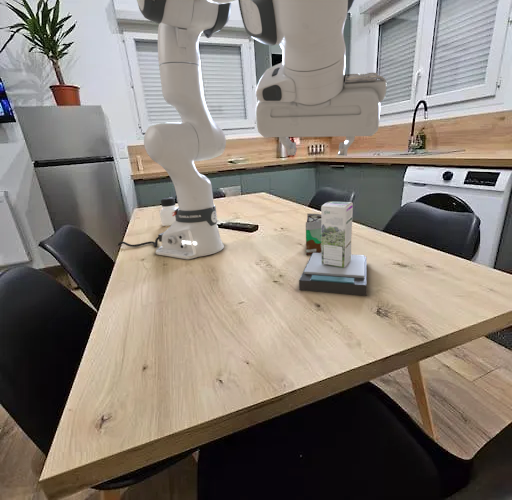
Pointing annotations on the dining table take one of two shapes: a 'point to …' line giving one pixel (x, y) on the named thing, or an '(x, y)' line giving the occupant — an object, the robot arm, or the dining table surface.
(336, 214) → the syrup box
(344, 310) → the dining table surface
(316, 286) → the kitchen scale
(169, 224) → the medicine bottle
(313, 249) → the food container
